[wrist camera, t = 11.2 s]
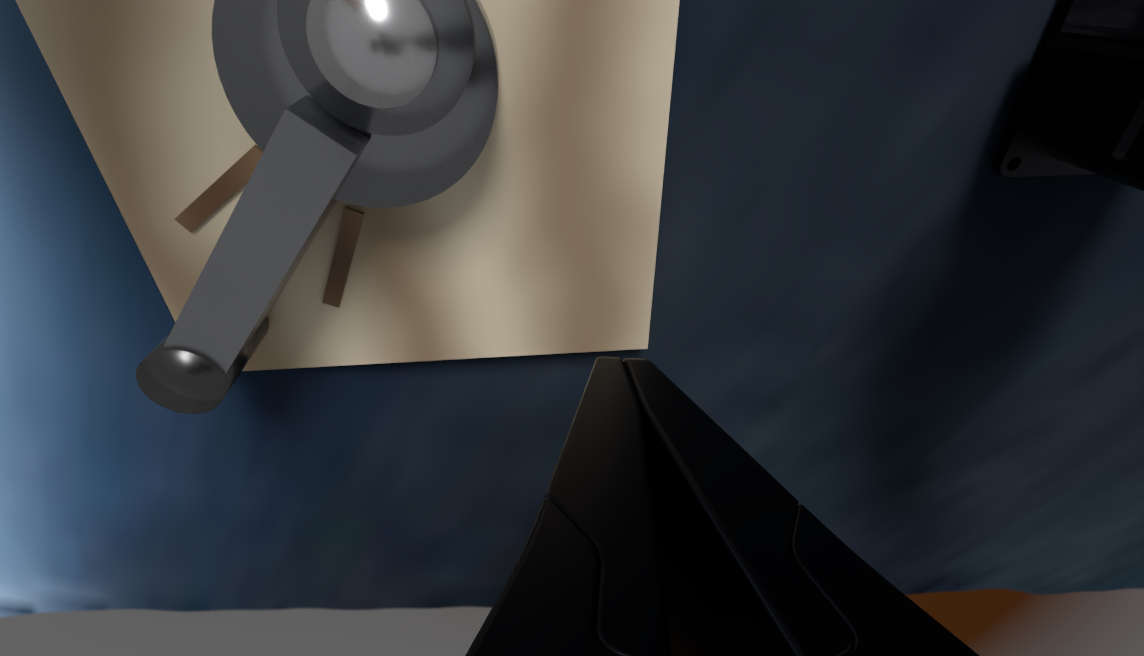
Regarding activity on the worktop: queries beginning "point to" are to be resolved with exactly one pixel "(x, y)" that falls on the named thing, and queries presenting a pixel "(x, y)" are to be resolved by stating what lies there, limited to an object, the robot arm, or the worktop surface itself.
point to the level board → (414, 232)
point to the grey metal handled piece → (323, 152)
